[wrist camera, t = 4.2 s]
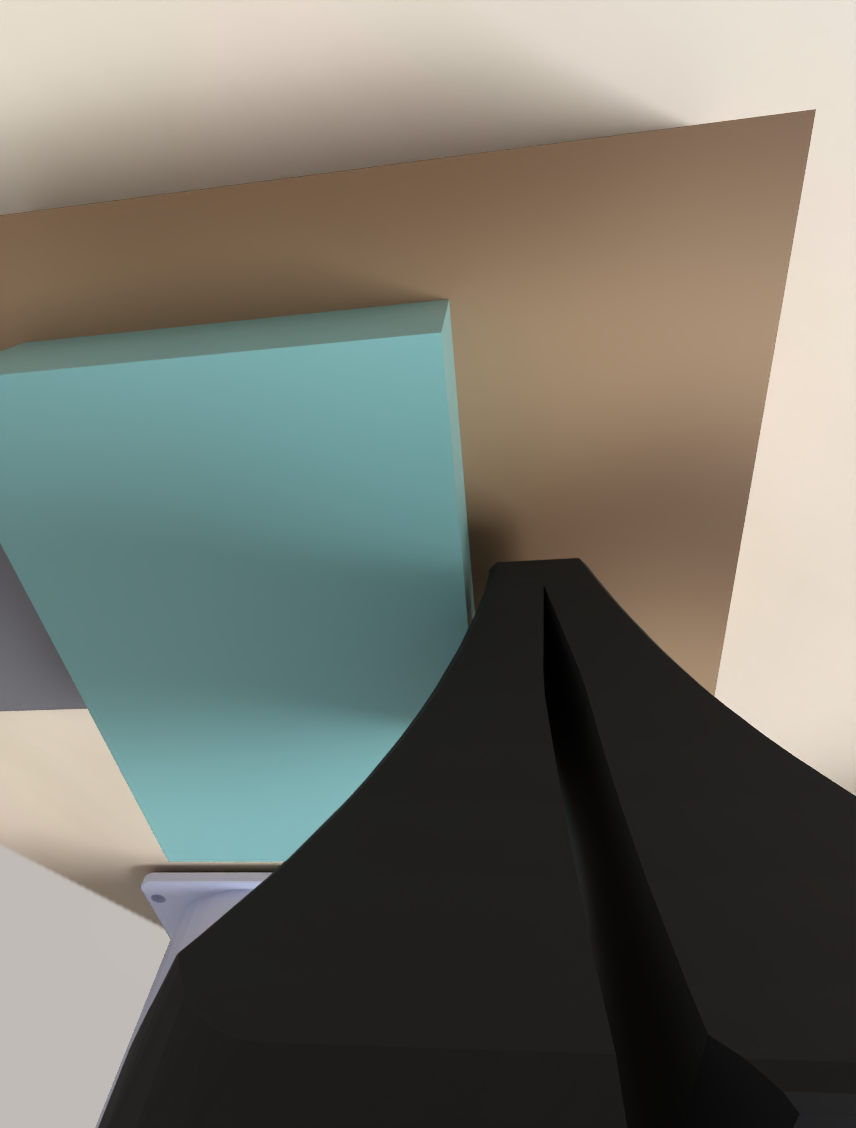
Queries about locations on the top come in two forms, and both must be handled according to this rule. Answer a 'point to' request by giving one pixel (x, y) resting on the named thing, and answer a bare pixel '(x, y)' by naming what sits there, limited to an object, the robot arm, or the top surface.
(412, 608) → the teal rectangular block
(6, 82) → the top surface
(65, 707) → the mat
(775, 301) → the block
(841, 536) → the top surface
